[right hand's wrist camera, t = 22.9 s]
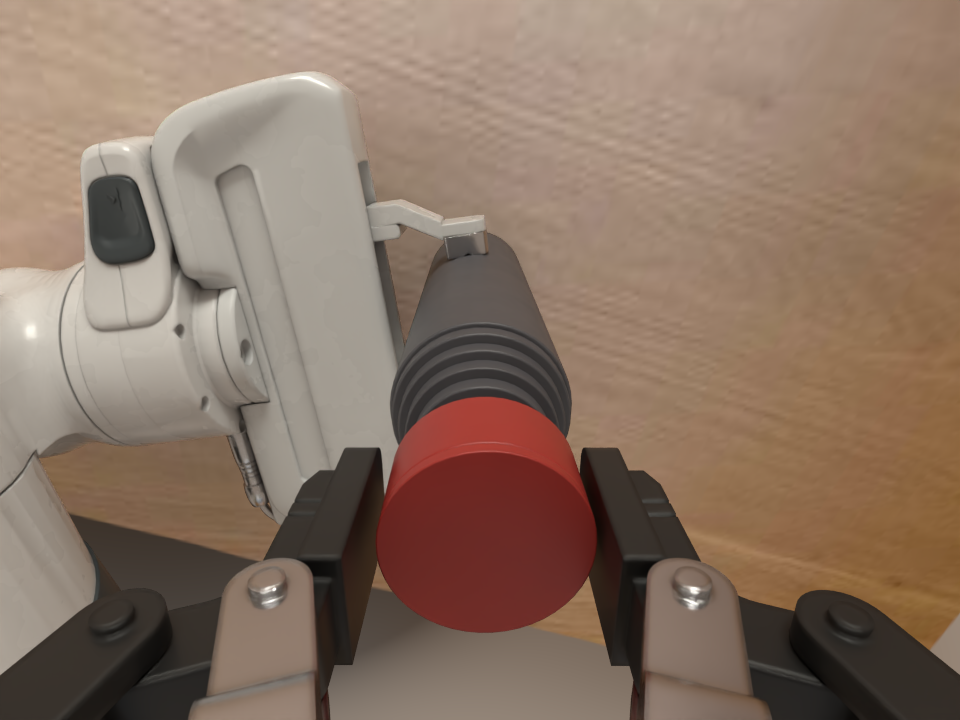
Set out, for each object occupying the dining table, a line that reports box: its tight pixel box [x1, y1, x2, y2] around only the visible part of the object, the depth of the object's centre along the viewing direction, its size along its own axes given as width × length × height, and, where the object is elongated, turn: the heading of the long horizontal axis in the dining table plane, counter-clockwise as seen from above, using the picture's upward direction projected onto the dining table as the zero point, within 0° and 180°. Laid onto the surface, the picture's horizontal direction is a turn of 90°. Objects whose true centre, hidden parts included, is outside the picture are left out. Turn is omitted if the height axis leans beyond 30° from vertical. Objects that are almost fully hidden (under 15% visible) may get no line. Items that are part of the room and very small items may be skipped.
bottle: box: [390, 233, 572, 445], centre depth 21 cm, size 5×5×22 cm
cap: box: [375, 397, 597, 633], centre depth 11 cm, size 4×4×2 cm
